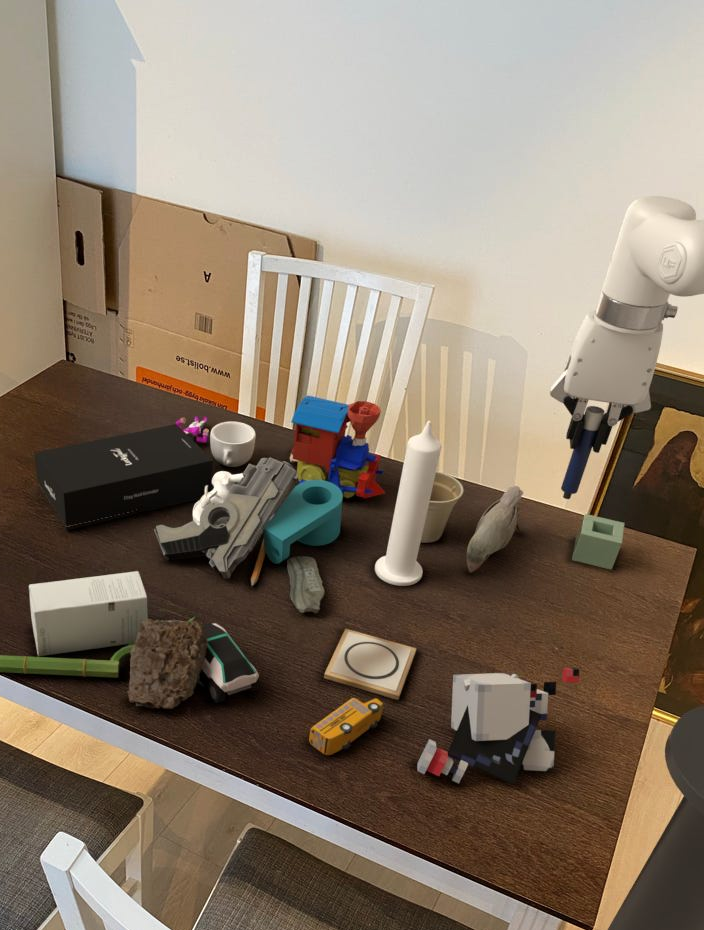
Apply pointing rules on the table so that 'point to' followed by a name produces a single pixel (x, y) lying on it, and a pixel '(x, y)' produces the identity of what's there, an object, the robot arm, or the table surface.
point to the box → (123, 475)
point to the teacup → (232, 443)
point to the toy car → (226, 665)
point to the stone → (305, 584)
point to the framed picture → (370, 664)
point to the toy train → (336, 445)
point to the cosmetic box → (87, 612)
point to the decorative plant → (67, 665)
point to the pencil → (258, 563)
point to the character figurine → (195, 429)
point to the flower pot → (440, 505)
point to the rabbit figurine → (216, 494)
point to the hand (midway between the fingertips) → (584, 444)
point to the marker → (582, 451)
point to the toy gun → (232, 519)
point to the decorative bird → (494, 528)
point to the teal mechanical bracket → (304, 519)
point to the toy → (496, 727)
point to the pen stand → (598, 541)
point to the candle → (410, 511)
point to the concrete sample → (166, 662)
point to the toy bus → (345, 725)
